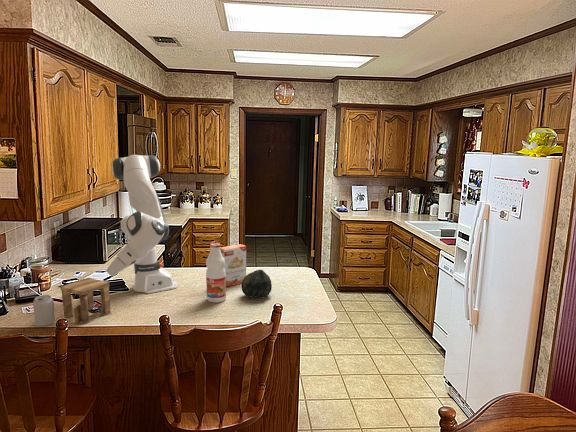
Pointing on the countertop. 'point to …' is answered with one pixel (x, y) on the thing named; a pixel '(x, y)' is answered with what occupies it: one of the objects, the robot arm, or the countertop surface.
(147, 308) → the countertop surface
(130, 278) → the countertop surface
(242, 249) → the cracker box
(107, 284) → the stool
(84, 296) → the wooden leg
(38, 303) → the can
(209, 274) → the fruit juice
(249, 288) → the squash
